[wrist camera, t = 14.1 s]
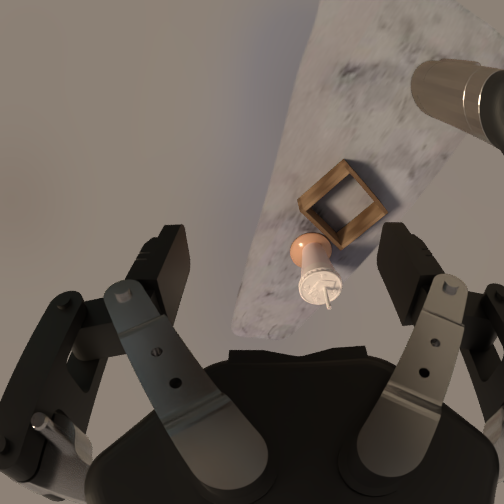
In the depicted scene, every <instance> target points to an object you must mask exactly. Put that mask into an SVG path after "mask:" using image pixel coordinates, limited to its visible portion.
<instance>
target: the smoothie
mask: <svg viewBox="0 0 504 504" xmlns="http://www.w3.org/2000/svg"><path fill="white" fill-rule="evenodd" d="M341 290H342V280H341V277H340V275H339V274H338V273H337V272H336V271H335V269H334V267H333V265H332V264H331V262H330V260H329V258H328V256H327V254H326V252H325V250H324V248H323V246H322V245H321V244H319V243H316V242H312V243H309V244H307V245H306V246H305V247H304V248H303V250H302V270H301V280H300V282H299V291H300V295H301V297H302V298H303V299H304V300H305V301H306V302H308V303H311V304H316V305H321V304H326V306H327V309H328V310H329V309H331V305H330V302H331V301H333V300H334V299H336V298H337V297H338V296H339V294H340V293H341Z"/></svg>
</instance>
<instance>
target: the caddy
mask: <svg viewBox="0 0 504 504" xmlns="http://www.w3.org/2000/svg"><path fill="white" fill-rule="evenodd" d="M349 173H350V174H351V175H352V176H353V177H354V178H355V179H356V181H357V182H358V183H359V184H360V185H361V186H362V188H363V189H364V190H365V191H366V192H367V193H368V195H369V196H370V197H371V198H372V199H373V201H374V202H373V203H372V204H371V205H370V206H369V207H368V208H366V209H365V210H364V211H363V212H361V213H360V214H359V215H358V216H357V217H355V218H354V219H353V220H352V221H351V222H349V223H348V224H347V225H346V226H345V227H343V228H342V229H341V230H340V231H338V232H337V233H336V232H335V231H334V230H333V229H332V228H331V227H330V226H329V225H328V224H327V223H326V222H325V221H324V220H323V219H322V218H321V217H320V216H319V215H318V214H317V213H316V212H315V211H314V210H313V209H312V208H311V206H312V205H313V204H315V203H316V202H317V201H318V200H319V199H320V198H322V197H323V196H324V195H325V194H326V193H327V192H328V191H330V190H331V189H332V188H333V187H334V186H335V185H337V184H338V183H339V182H340V181H341V180H342V179H343V178H345V177H346V176H347V175H348V174H349ZM297 201H298V205H299V210H300V212H301V213H302V214H303V215H304V216H306V217H307V218H308V219H309V220H310V221H311V222H312V223H313V224H314V225H315V226H316V227H317V228H318V229H319V230H320V231H321V232H322V233H323V234H324V235H325V236H326V237H327V238H328V239H329V240H330V241H331V242H333V243H334V244H335V245H336V246H337V247H338V248H339V249H340V250H342V249H344V248H345V247H346V246H347V245H349V244H350V243H351V242H352V241H354V240H355V239H356V238H357V237H359V236H360V235H361V234H362V233H364V232H365V231H366V230H367V229H369V228H370V227H371V226H372V225H373V224H375V223H376V222H377V221H378V220H380V219H381V218H382V217H383V216H384V215H386V214H387V213H388V211H387V210H386V209H385V207H384V206H383V205H382V203H381V202H380V201H379V199H378V198H377V197H376V196H375V195H374V193H373V192H372V191H371V190H370V189H369V187H368V186H367V185H366V184H365V183H364V181H363V180H362V179H361V178H360V177H359V176H358V174H357V173H356V172H355V171H354V170H353V169H352V168H351V166H350V165H349V164H348V163H347V162H346V161H345V160H344V159H343V160H342V161H341V162H339V163H338V164H337V165H336V166H335V167H334V168H333V169H331V170H330V171H329V172H328V173H327V174H326V175H325V176H324V177H322V178H321V179H320V180H319V181H318V182H317V183H316V184H314V185H313V186H312V187H311V188H310V189H309V190H308V191H307V192H305V193H304V194H303V195H302V196H301V197H300V198H299V199H297Z"/></svg>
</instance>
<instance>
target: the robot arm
mask: <svg viewBox="0 0 504 504" xmlns="http://www.w3.org/2000/svg"><path fill="white" fill-rule="evenodd" d="M411 91H412V95H413V98H414V101H415V103H416V104H417V106H418V107H419V108H420V109H421V111H423V112H424V113H425V114H427V115H429V116H431V117H433V118H436V119H438V120H440V121H443V122H445V123H447V124H449V125H452V126H454V127H456V128H458V129H460V130H462V131H465V132H467V133H469V134H471V135H473V136H475V137H477V138H479V139H481V140H483V141H485V142H487V143H489V144H490V145H493V146H494V147H496V148H498V149H500V150H501V152H502V153H503V155H504V70H503V69H497V68H492V67H485V66H481V64H480V63H479V62H475V61H467V60H457V59H445V58H443V59H441V60H440V61H426V62H424V63H422V64H421V65H420V66H418V67H417V69H416V70H415V72H414V74H413V76H412V81H411ZM377 266H378V270H379V272H380V274H381V277H382V279H383V281H384V283H385V286H386V288H387V290H388V292H389V295H390V297H391V299H392V302H393V304H394V307H395V309H396V311H397V314H398V316H399V318H400V321H401V324H402V326H407V325H414V329H413V332H412V334H411V336H410V339H409V341H408V343H407V345H406V347H405V350H404V351H403V354H402V356H401V358H400V360H399V362H398V364H397V366H395V365H394V364H392V363H390V362H388V361H386V360H383V359H380V358H377V357H373V356H368V355H367V351H366V348H365V346H355V347H340V348H331V349H327V350H324V351H320V352H316V353H312V354H309V355H305V356H292V355H286V354H281V353H275V352H270V351H265V350H229V358H228V360H226V361H221V362H218V363H215V364H212V365H210V366H208V367H206V368H204V369H203V368H202V367H201V365H200V364H199V363H198V361H197V360H196V359H195V357H194V356H193V354H192V353H191V351H190V350H189V349H188V347H187V346H186V344H185V343H184V342H183V340H182V339H181V337H180V336H179V334H178V333H177V332H176V330H175V329H174V327H173V325H174V321H175V318H176V315H177V311H178V308H179V305H180V301H181V298H182V294H183V291H184V288H185V285H186V282H187V278H188V275H189V272H190V256H189V250H188V244H187V239H186V232H185V228H184V225H182V224H181V225H165V226H164V227H163V229H162V231H161V232H160V234H159V236H158V237H153V238H152V239H150V240H149V241H148V242H146V243H145V244H144V246H143V247H142V249H141V251H140V254H138V256H137V258H136V260H135V262H134V264H133V265H132V267H131V269H130V271H129V272H128V274H127V276H126V278H125V280H121V281H118V282H116V283H114V284H112V285H111V286H110V287H109V288H108V289H107V290H106V291H105V293H104V296H103V298H99V299H94V300H89V301H85V302H84V300H83V298H82V296H81V294H80V293H79V292H76V291H67V292H64V293H62V294H59V295H58V296H56V297H55V298H54V299H53V300H52V301H51V302H50V304H49V306H48V307H47V309H46V311H45V313H44V314H43V316H42V318H41V320H40V322H39V323H38V325H37V327H36V329H35V330H34V332H33V334H32V336H31V338H30V340H29V342H28V344H27V346H26V347H25V349H24V351H23V354H22V355H21V357H20V359H19V362H18V363H17V366H16V368H15V370H14V372H13V374H12V376H11V378H10V381H9V383H8V385H7V387H6V390H5V392H4V394H3V396H2V399H1V401H0V471H1V472H2V473H4V474H5V475H7V476H8V477H10V479H12V480H13V481H15V482H16V483H18V484H20V485H22V486H23V487H25V488H27V489H29V490H31V491H33V492H35V493H37V494H40V495H42V496H44V497H46V498H48V499H50V500H53V501H63V500H65V499H67V500H70V501H73V502H76V503H79V504H494V498H495V492H496V487H497V484H498V483H500V482H502V481H503V482H504V356H503V359H502V361H501V360H500V358H499V355H498V353H497V351H496V349H495V347H494V345H493V343H494V341H495V339H496V338H497V336H498V338H499V340H500V342H501V344H502V346H503V349H504V286H502V285H500V284H494V283H493V284H489V285H488V286H487V288H486V290H485V292H484V294H480V293H475V292H469V291H468V289H467V286H466V285H465V283H464V282H463V281H462V280H460V279H459V278H457V277H456V276H453V275H450V274H445V273H444V271H443V270H442V268H441V266H440V265H439V263H438V262H437V261H436V259H435V258H434V256H432V253H431V252H430V250H428V248H427V246H426V245H425V243H424V242H423V241H422V240H421V239H419V238H418V237H417V236H415V235H414V234H411V233H410V232H409V231H408V229H407V228H406V226H405V225H404V224H403V223H402V222H385V223H384V225H383V228H382V233H381V239H380V244H379V249H378V254H377ZM459 348H460V351H461V353H462V356H463V358H464V361H465V364H466V366H467V369H468V372H469V374H470V377H471V380H472V383H473V386H474V389H475V391H476V394H477V398H478V400H479V404H480V407H481V410H482V413H483V416H484V420H485V426H484V429H483V433H482V432H480V431H479V430H478V429H476V428H475V427H474V426H473V425H471V424H470V423H469V422H468V421H466V420H465V419H464V418H462V417H461V416H460V415H459V414H457V413H456V412H455V411H453V410H452V409H451V408H450V407H448V406H447V405H446V404H445V403H443V400H444V397H445V394H446V392H447V388H448V386H449V382H450V379H451V376H452V373H453V370H454V366H455V363H456V359H457V356H458V352H459ZM70 351H72V352H71V355H70V357H69V360H68V362H67V358H68V355H69V353H70ZM123 354H127V357H128V359H129V361H130V363H131V365H132V367H133V369H134V371H135V373H136V375H137V377H138V379H139V381H140V383H141V385H142V387H143V389H144V391H145V393H146V395H147V397H148V398H149V400H150V402H151V404H152V406H153V408H154V410H153V411H152V412H150V413H149V414H148V415H147V416H146V417H144V418H143V419H142V420H141V421H140V422H138V423H137V424H136V425H135V426H134V427H132V428H131V429H130V430H129V431H128V432H126V433H125V434H124V435H123V436H121V437H120V438H119V439H118V440H116V441H115V442H114V443H113V444H112V445H110V446H109V447H108V448H107V449H105V450H104V451H103V452H102V453H100V454H99V455H98V456H97V457H96V458H95V459H94V461H92V444H91V442H90V440H89V438H88V437H87V436H86V435H85V434H86V430H87V426H88V423H89V419H90V415H91V412H92V408H93V405H94V401H95V398H96V395H97V391H98V388H99V385H100V382H101V378H102V375H103V372H104V369H105V366H106V363H107V360H108V357H112V356H118V355H123Z"/></svg>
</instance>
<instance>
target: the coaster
mask: <svg viewBox="0 0 504 504" xmlns="http://www.w3.org/2000/svg"><path fill="white" fill-rule="evenodd" d="M312 242H316V243H319V244H321V245H322V246H323V248H324V250H325V252H326V254H327V256H328V258H330V256H331V252H332V249H331V244H330V242H329V240H328V239H327V238H326V237H325V236H323V235H322V234H319V233H313V232H312V233H306V234H303V235H301V236H299V237H298V238H296V239H295V240H294V242H293V243H292V245H291V249H290V254H291V258H292V260H293V262H294V263H295V264H296V265H298V266H299V267H302V250H303V248H304V247H305V246H306V245H307V244H309V243H312Z"/></svg>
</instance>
